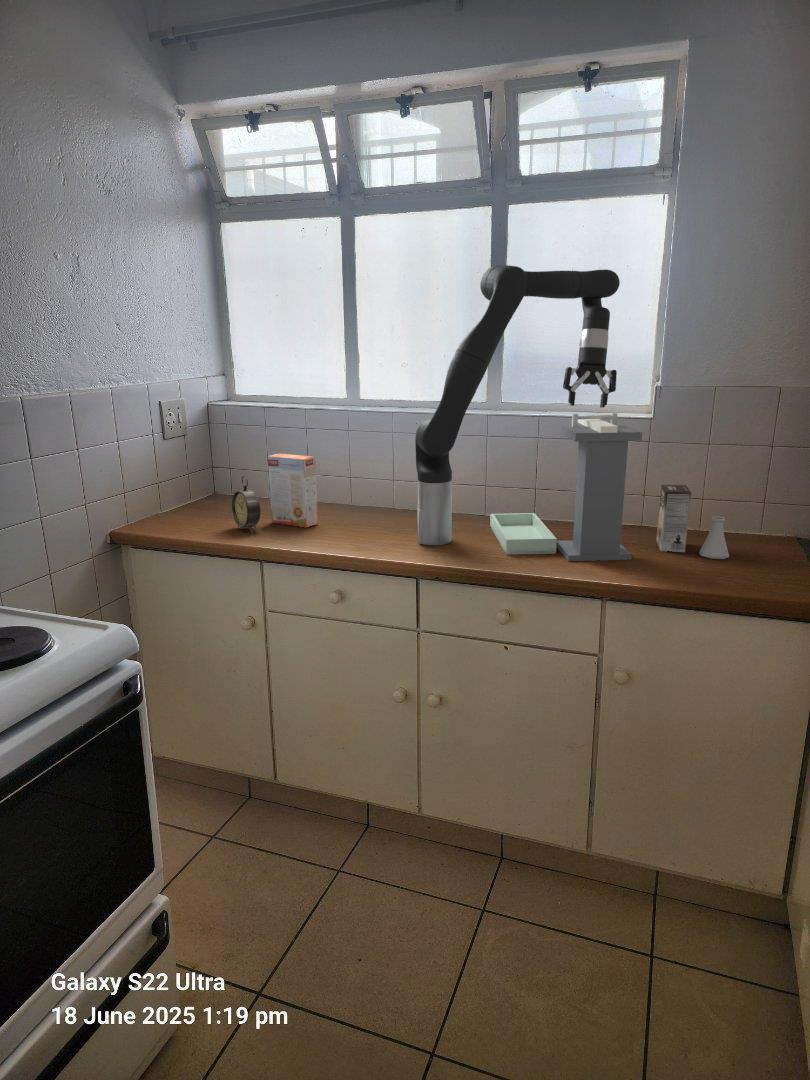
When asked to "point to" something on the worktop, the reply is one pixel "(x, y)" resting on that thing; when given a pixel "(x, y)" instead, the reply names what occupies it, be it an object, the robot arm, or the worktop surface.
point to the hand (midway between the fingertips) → (587, 406)
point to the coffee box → (673, 517)
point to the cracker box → (293, 489)
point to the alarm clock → (246, 508)
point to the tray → (522, 534)
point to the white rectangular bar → (599, 425)
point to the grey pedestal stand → (598, 491)
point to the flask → (715, 541)
